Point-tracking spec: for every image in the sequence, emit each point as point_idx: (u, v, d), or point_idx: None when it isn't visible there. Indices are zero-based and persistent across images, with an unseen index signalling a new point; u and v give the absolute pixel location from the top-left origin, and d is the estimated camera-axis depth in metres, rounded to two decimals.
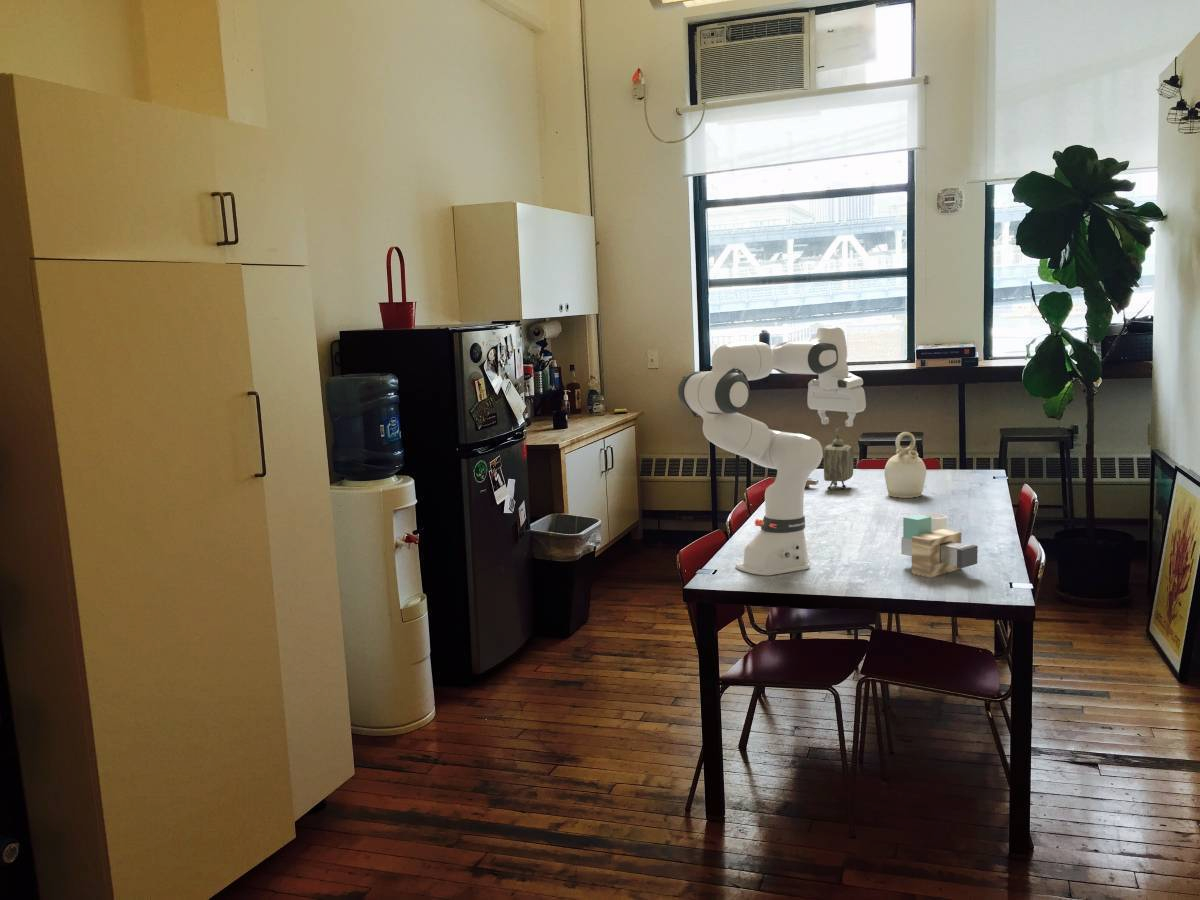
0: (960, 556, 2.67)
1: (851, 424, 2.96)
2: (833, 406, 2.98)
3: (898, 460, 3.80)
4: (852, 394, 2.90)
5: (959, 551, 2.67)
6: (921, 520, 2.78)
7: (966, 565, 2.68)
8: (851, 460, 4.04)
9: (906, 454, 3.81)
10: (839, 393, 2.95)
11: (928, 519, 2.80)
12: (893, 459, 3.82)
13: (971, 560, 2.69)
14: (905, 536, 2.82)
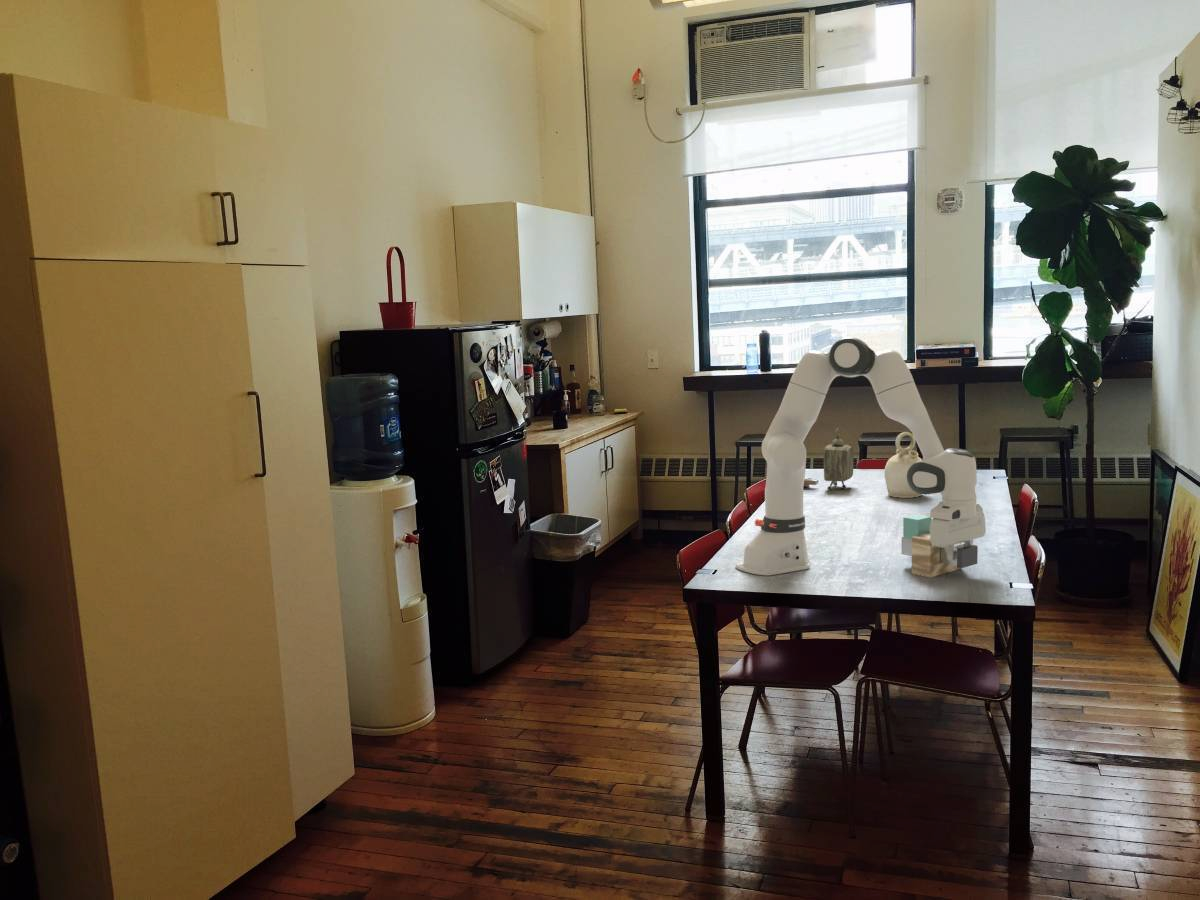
0: (960, 556, 2.67)
1: (949, 558, 2.69)
2: None
3: (899, 460, 3.80)
4: None
5: (959, 551, 2.67)
6: (921, 520, 2.78)
7: (966, 565, 2.68)
8: (851, 460, 4.04)
9: (906, 454, 3.81)
10: None
11: (928, 519, 2.80)
12: (893, 459, 3.82)
13: (971, 560, 2.69)
14: (905, 536, 2.82)
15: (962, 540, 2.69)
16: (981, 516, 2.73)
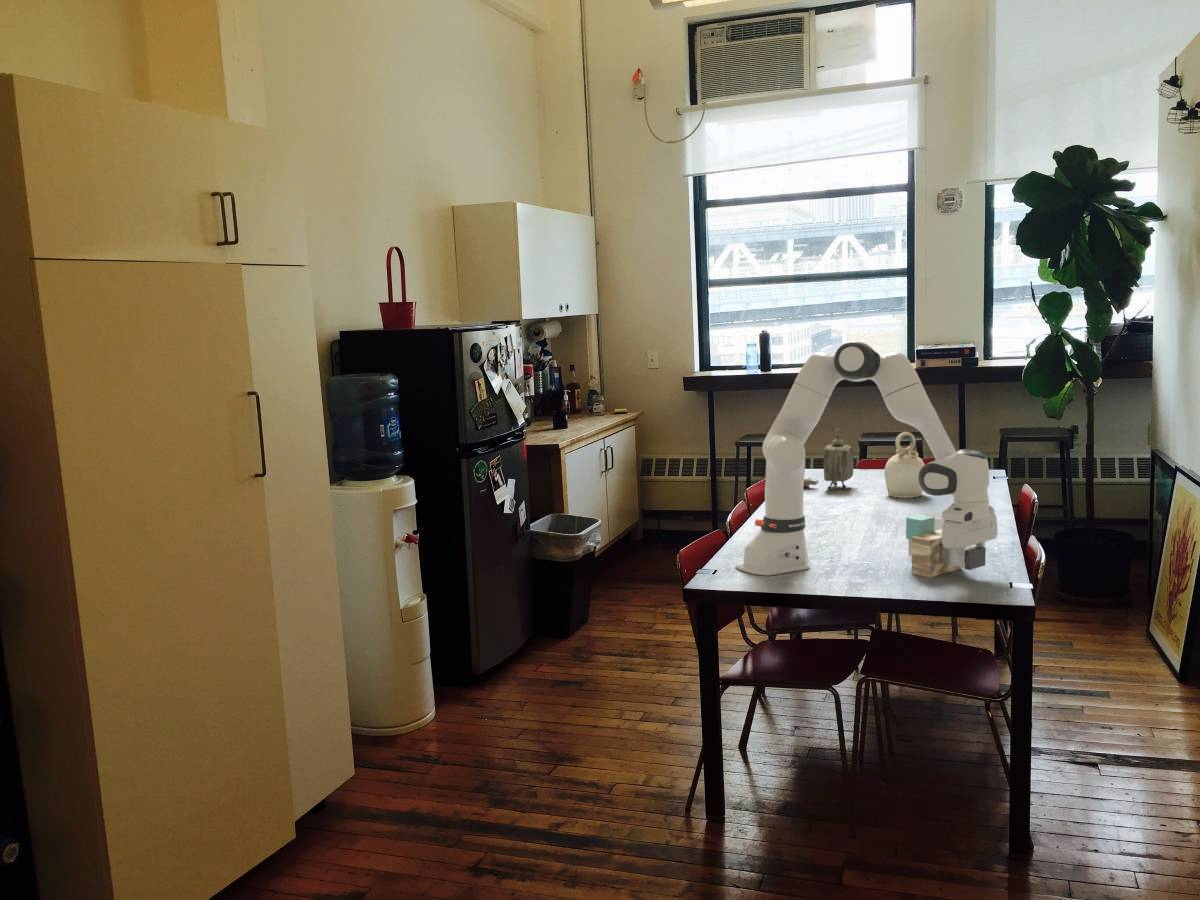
0: (968, 558, 2.65)
1: (961, 560, 2.66)
2: None
3: (898, 460, 3.80)
4: None
5: (967, 553, 2.65)
6: (924, 521, 2.78)
7: (974, 566, 2.66)
8: (851, 460, 4.04)
9: (906, 454, 3.81)
10: None
11: (931, 520, 2.79)
12: (893, 459, 3.82)
13: (979, 561, 2.67)
14: (908, 536, 2.81)
15: (974, 542, 2.66)
16: (993, 517, 2.70)
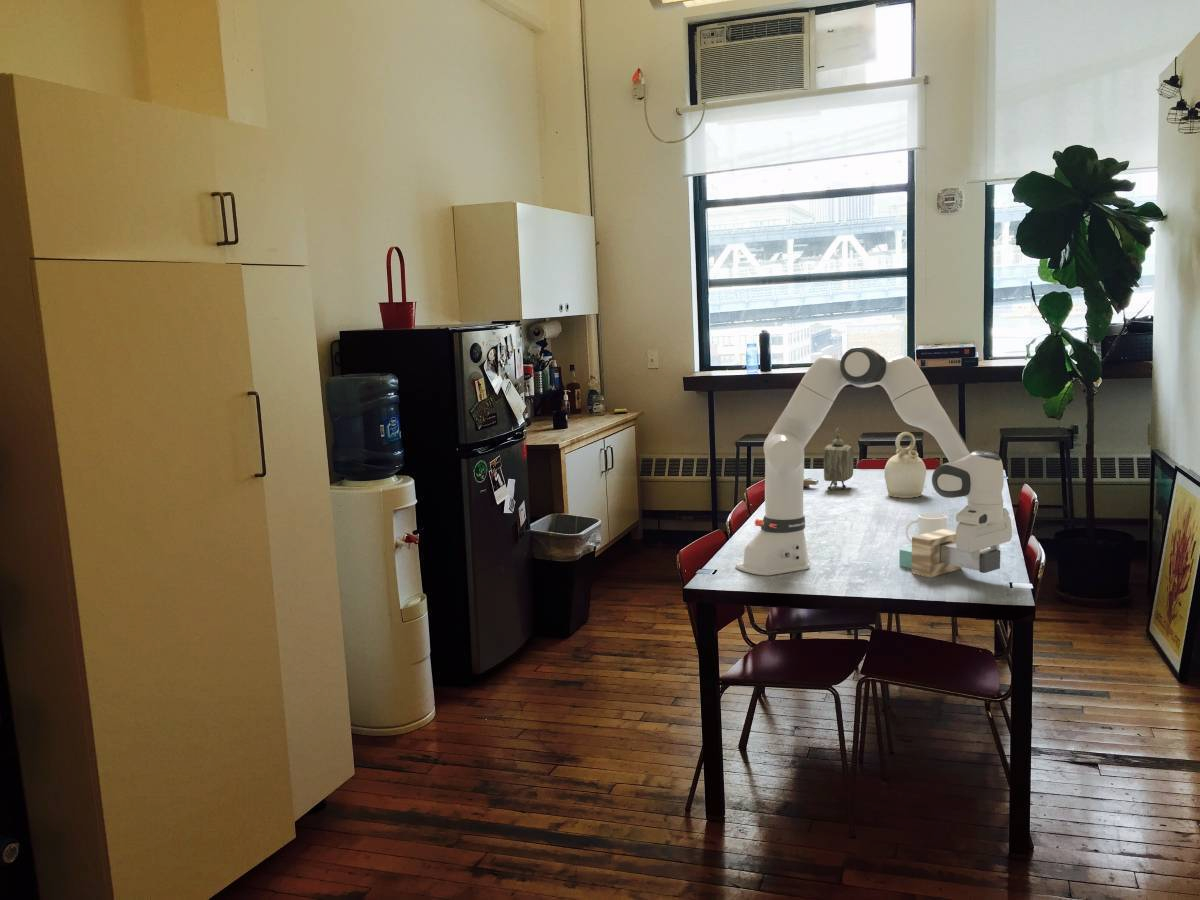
0: (983, 561, 2.61)
1: (975, 563, 2.63)
2: None
3: (898, 460, 3.80)
4: None
5: (982, 556, 2.61)
6: None
7: (989, 569, 2.63)
8: (851, 460, 4.04)
9: (906, 454, 3.81)
10: None
11: (911, 547, 2.86)
12: (893, 459, 3.82)
13: (994, 564, 2.64)
14: None
15: (988, 545, 2.62)
16: (1007, 520, 2.67)
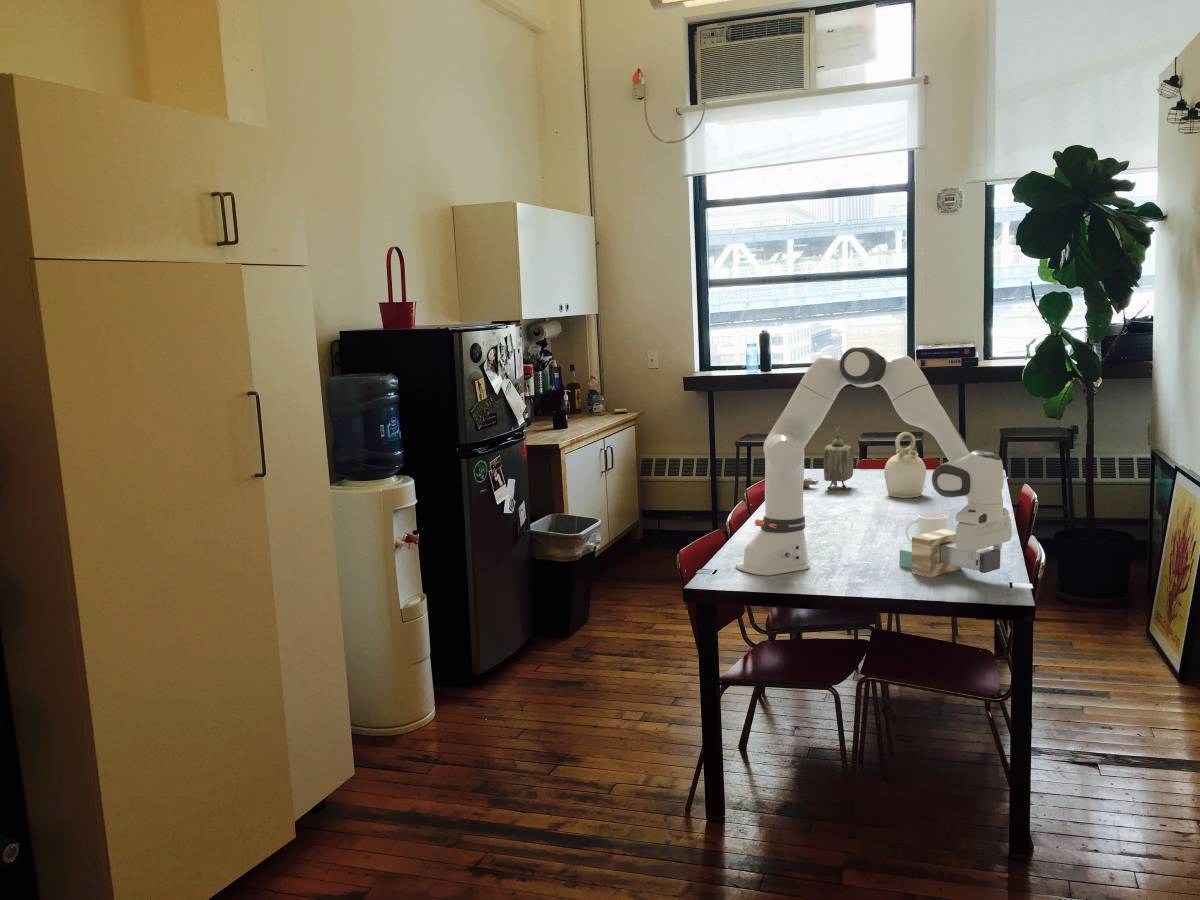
0: (983, 561, 2.61)
1: (972, 564, 2.62)
2: None
3: (898, 460, 3.80)
4: None
5: (982, 556, 2.61)
6: None
7: (989, 569, 2.63)
8: (851, 460, 4.04)
9: (906, 454, 3.81)
10: None
11: (911, 547, 2.86)
12: (893, 459, 3.82)
13: (994, 564, 2.64)
14: None
15: (988, 544, 2.62)
16: (1007, 520, 2.66)
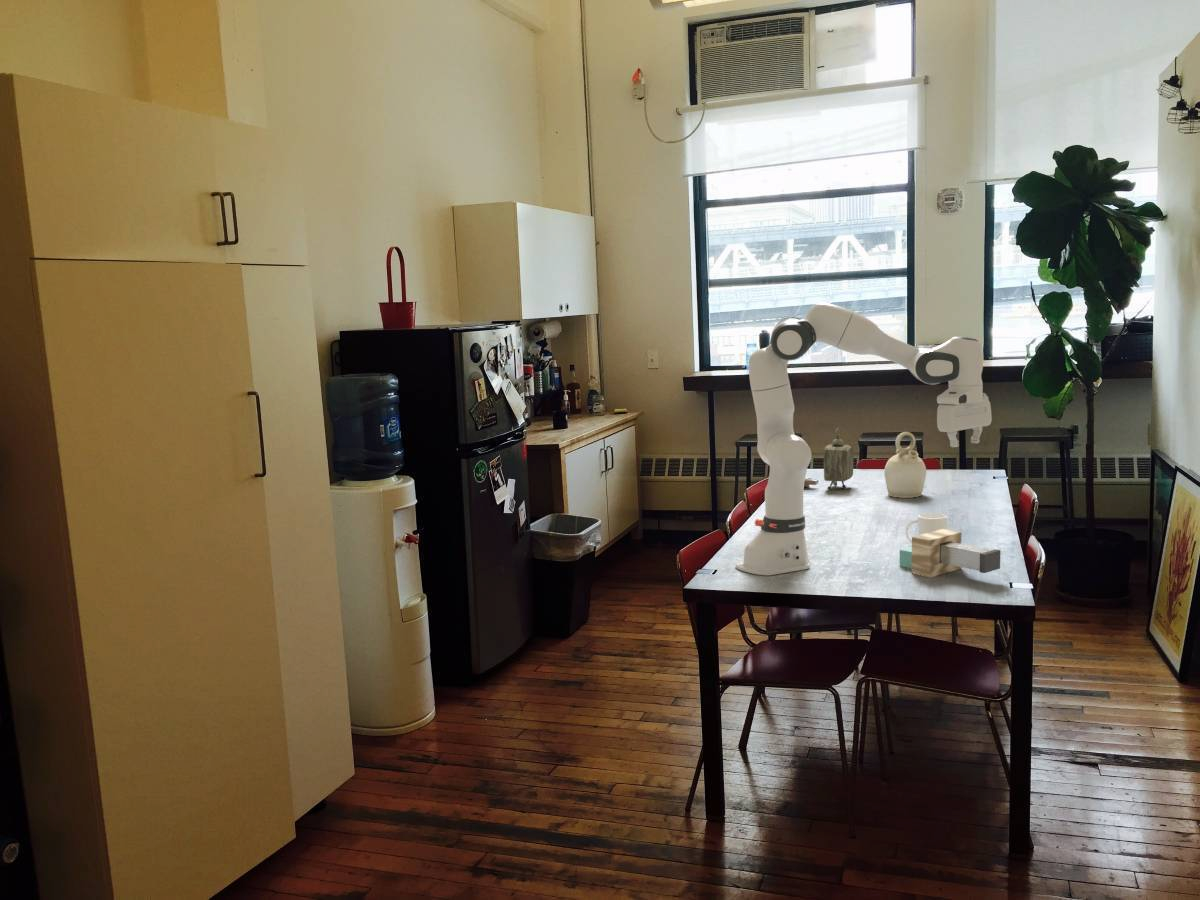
0: (983, 561, 2.61)
1: (953, 445, 2.72)
2: None
3: (898, 460, 3.80)
4: None
5: (982, 556, 2.61)
6: (904, 548, 2.85)
7: (989, 569, 2.63)
8: (851, 460, 4.04)
9: (906, 454, 3.81)
10: None
11: (911, 547, 2.86)
12: (893, 459, 3.82)
13: (994, 564, 2.64)
14: None
15: (968, 426, 2.72)
16: (987, 404, 2.77)
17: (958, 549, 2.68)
